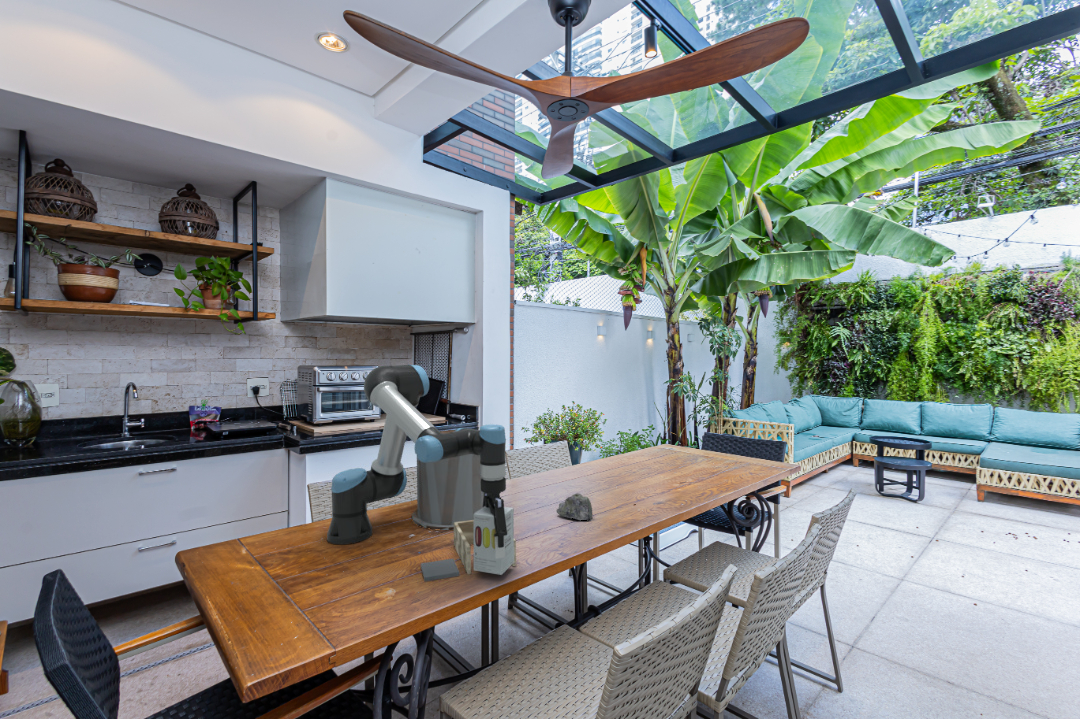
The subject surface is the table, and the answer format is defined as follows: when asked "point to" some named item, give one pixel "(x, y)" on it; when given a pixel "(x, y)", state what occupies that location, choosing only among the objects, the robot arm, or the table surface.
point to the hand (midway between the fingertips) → (494, 548)
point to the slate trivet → (439, 569)
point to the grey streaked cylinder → (448, 491)
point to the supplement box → (492, 542)
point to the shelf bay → (467, 542)
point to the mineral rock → (576, 507)
